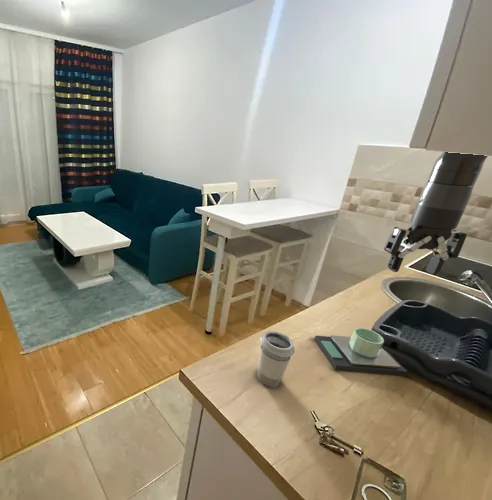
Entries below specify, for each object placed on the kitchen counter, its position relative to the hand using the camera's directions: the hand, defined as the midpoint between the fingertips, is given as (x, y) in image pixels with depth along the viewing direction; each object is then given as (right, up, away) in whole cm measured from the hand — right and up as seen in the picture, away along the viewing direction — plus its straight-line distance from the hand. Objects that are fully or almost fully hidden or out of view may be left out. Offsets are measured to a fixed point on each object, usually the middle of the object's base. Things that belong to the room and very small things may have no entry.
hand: (411, 271), depth 68 cm
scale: (-9, -23, +6) cm, 26 cm away
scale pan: (-8, -21, +5) cm, 23 cm away
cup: (-35, -26, -1) cm, 43 cm away
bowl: (-8, -20, +5) cm, 22 cm away
